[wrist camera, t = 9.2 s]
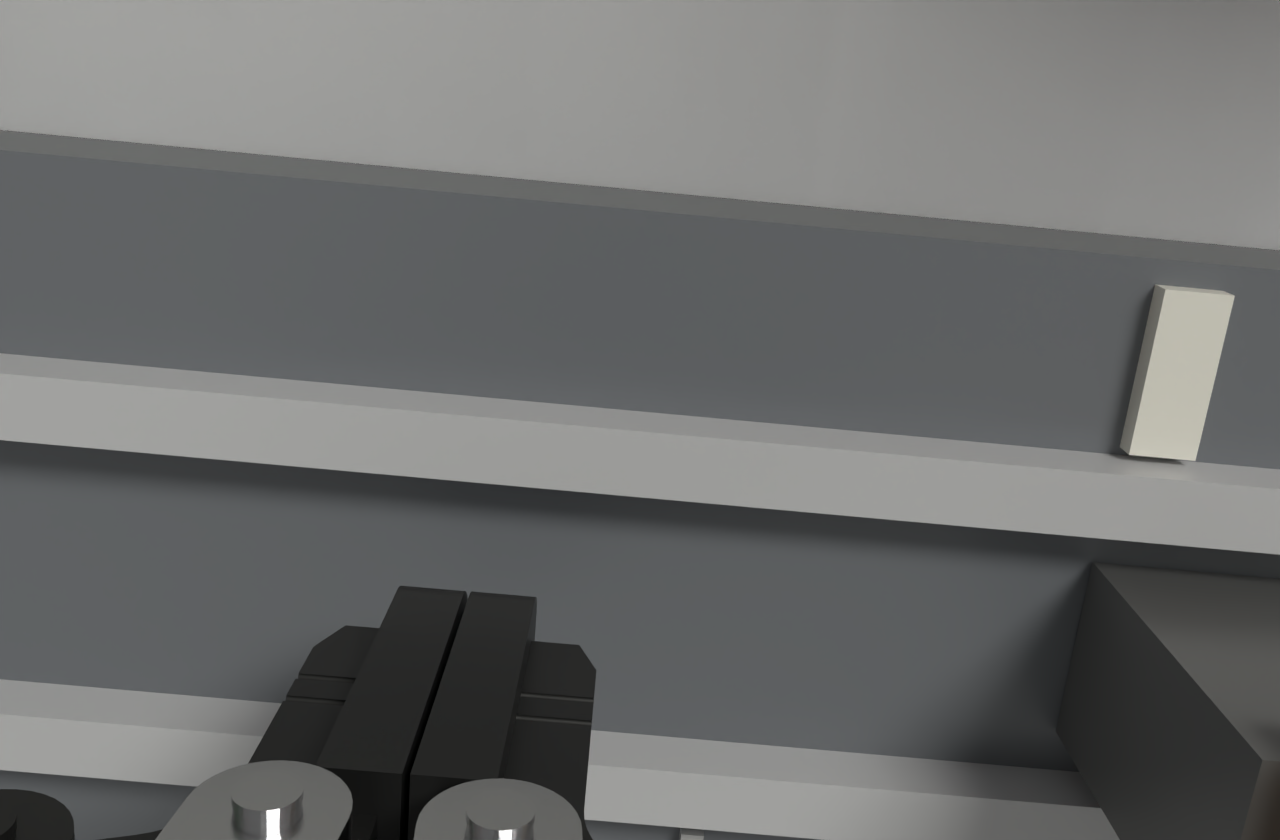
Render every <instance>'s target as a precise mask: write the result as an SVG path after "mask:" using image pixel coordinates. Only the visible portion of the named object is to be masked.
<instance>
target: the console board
mask: <svg viewBox="0 0 1280 840" xmlns="http://www.w3.org/2000/svg"><path fill="white" fill-rule="evenodd" d="M1092 562H1098V563H1109V564H1121V565H1132V566H1143V567H1154V568H1165V569H1177V570H1188V571H1199V572H1210V573H1222V574H1233V575H1244V576H1255V577H1266V578H1278V579H1280V251H1278V250H1267V249H1257V248H1246V247H1236V246H1225V245H1214V244H1204V243H1193V242H1182V241H1172V240H1161V239H1151V238H1140V237H1129V236H1119V235H1108V234H1097V233H1087V232H1076V231H1066V230H1055V229H1044V228H1034V227H1023V226H1012V225H1002V224H991V223H981V222H970V221H959V220H949V219H938V218H927V217H917V216H906V215H896V214H885V213H874V212H864V211H853V210H842V209H832V208H821V207H811V206H800V205H789V204H779V203H768V202H757V201H747V200H736V199H726V198H715V197H704V196H694V195H683V194H672V193H662V192H651V191H641V190H630V189H619V188H609V187H598V186H588V185H577V184H566V183H556V182H545V181H534V180H524V179H513V178H503V177H492V176H481V175H471V174H460V173H449V172H439V171H428V170H418V169H407V168H396V167H386V166H375V165H364V164H354V163H343V162H333V161H322V160H311V159H301V158H290V157H279V156H269V155H258V154H248V153H237V152H226V151H216V150H205V149H194V148H184V147H173V146H163V145H152V144H141V143H131V142H120V141H109V140H99V139H88V138H78V137H67V136H56V135H46V134H35V133H24V132H14V131H3V130H0V789H19V790H28V791H34V792H38V793H42V794H45V795H48V796H50V797H53V798H55V799H56V800H58V801H59V802H61V803H62V804H64V805H65V806H66V808H67V809H68V810H69V811H70V813H71V815H72V817H73V820H74V834H75V840H98V839H106V838H114V837H122V836H130V835H137V834H143V833H149V832H154V831H158V830H162V829H163V828H164V827H165V826H166V824H167V823H168V822H169V820H170V819H171V818H172V816H173V815H174V814H175V812H176V811H177V810H178V808H179V807H180V806H181V804H182V803H183V802H184V800H185V799H186V798H187V797H188V795H189V794H190V793H191V792H192V791H193V790H194V789H195V788H196V787H198V786H199V785H200V784H201V783H203V782H204V781H206V780H207V779H209V778H211V777H212V776H214V775H216V774H218V773H221V772H223V771H225V770H228V769H231V768H234V767H237V766H240V765H245V764H248V763H249V761H250V759H251V757H252V755H253V754H254V752H255V750H256V748H257V747H258V745H259V743H260V741H261V739H262V738H263V736H264V734H265V732H266V730H267V729H268V727H269V725H270V723H271V722H272V720H273V718H274V716H275V714H276V713H277V711H278V709H279V707H280V705H281V704H282V702H283V701H285V700H286V695H287V693H288V691H289V689H290V688H291V686H292V684H293V682H294V680H295V679H298V673H299V671H300V670H301V668H302V666H303V664H304V662H305V661H306V659H307V657H308V655H309V654H310V652H311V650H312V648H313V647H314V646H315V645H317V644H318V643H320V642H321V641H323V640H324V639H326V638H327V637H329V636H330V635H332V634H333V633H335V632H336V631H338V630H339V629H341V628H342V627H344V626H345V625H348V626H360V627H371V628H380V626H381V624H382V621H383V619H384V617H385V615H386V613H387V611H388V608H389V606H390V604H391V602H392V600H393V598H394V596H395V593H396V591H397V589H398V587H399V586H412V587H423V588H435V589H447V590H458V591H466V592H467V597H469V595H470V593H471V592H472V591H473V592H484V593H496V594H508V595H519V596H531V597H537V614H536V629H535V641H539V642H551V643H562V644H574V645H580V647H581V648H582V650H583V651H584V653H585V654H586V656H587V657H588V659H589V660H590V662H591V663H592V664H593V666H594V667H595V669H596V681H595V693H594V704H593V715H592V727H591V738H590V750H589V761H588V772H587V784H586V795H585V806H584V820H585V824H586V827H587V830H588V832H589V834H590V836H591V838H592V839H593V840H1120V839H1119V838H1118V836H1117V834H1116V833H1115V831H1114V829H1113V827H1112V826H1111V824H1110V822H1109V821H1108V819H1107V817H1106V816H1105V814H1104V812H1103V811H1102V809H1101V807H1100V806H1099V804H1098V802H1097V800H1096V799H1095V797H1094V795H1093V794H1092V792H1091V790H1090V789H1089V787H1088V785H1087V784H1086V782H1085V780H1084V778H1083V777H1082V775H1081V773H1080V772H1079V770H1078V768H1077V767H1076V765H1075V763H1074V762H1073V760H1072V758H1071V757H1070V755H1069V753H1068V751H1067V750H1066V748H1065V746H1064V745H1063V743H1062V741H1061V740H1060V738H1059V736H1058V735H1057V733H1056V727H1057V723H1058V718H1059V714H1060V709H1061V704H1062V700H1063V695H1064V691H1065V686H1066V681H1067V677H1068V672H1069V668H1070V663H1071V659H1072V654H1073V649H1074V645H1075V640H1076V636H1077V631H1078V626H1079V622H1080V617H1081V613H1082V608H1083V603H1084V599H1085V594H1086V590H1087V585H1088V581H1089V576H1090V571H1091V567H1092Z"/></svg>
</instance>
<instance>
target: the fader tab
mask: <svg viewBox="0 0 1280 840" xmlns="http://www.w3.org/2000/svg"><path fill="white" fill-rule="evenodd" d="M1056 733H1057V735H1058V736H1059V738H1060V740H1061V741H1062V743H1063V745H1064V746H1065V748H1066V750H1067V751H1068V753H1069V755H1070V757H1071V758H1072V760H1073V762H1074V763H1075V765H1076V767H1077V768H1078V770H1079V772H1080V773H1081V775H1082V777H1083V778H1084V780H1085V782H1086V784H1087V785H1088V787H1089V789H1090V790H1091V792H1092V794H1093V795H1094V797H1095V799H1096V800H1097V802H1098V804H1099V806H1100V807H1101V809H1102V811H1103V812H1104V814H1105V816H1106V817H1107V819H1108V821H1109V822H1110V824H1111V826H1112V827H1113V829H1114V831H1115V833H1116V834H1117V836H1118V838H1119V839H1120V840H1280V579H1278V578H1266V577H1255V576H1244V575H1233V574H1222V573H1210V572H1199V571H1188V570H1177V569H1165V568H1154V567H1143V566H1132V565H1121V564H1109V563H1098V562H1092V567H1091V571H1090V576H1089V581H1088V585H1087V590H1086V594H1085V599H1084V603H1083V608H1082V613H1081V617H1080V622H1079V626H1078V631H1077V636H1076V640H1075V645H1074V649H1073V654H1072V659H1071V663H1070V668H1069V672H1068V677H1067V681H1066V686H1065V691H1064V695H1063V700H1062V704H1061V709H1060V714H1059V718H1058V723H1057V727H1056Z"/></svg>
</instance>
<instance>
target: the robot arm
mask: <svg viewBox="0 0 1280 840" xmlns="http://www.w3.org/2000/svg"><path fill="white" fill-rule="evenodd" d="M536 614H537V597H531V596H519V595H508V594H496V593H484V592H473V591H472V592H471V593H470V595H469V597H467V592H466V591H458V590H447V589H435V588H423V587H412V586H399V587H398V589H397V591H396V593H395V596H394V598H393V600H392V602H391V604H390V606H389V608H388V611H387V613H386V615H385V617H384V619H383V621H382V624H381V626H380V628H371V627H360V626H348V625H345V626H344V627H342V628H341V629H339V630H338V631H336V632H335V633H333V634H332V635H330V636H329V637H327V638H326V639H324V640H323V641H321V642H320V643H318V644H317V645H315V646H314V647H313V648H312V650H311V652H310V654H309V655H308V657H307V659H306V661H305V662H304V664H303V666H302V668H301V670H300V671H299V673H298V679H295V680H294V682H293V684H292V686H291V688H290V689H289V691H288V693H287V695H286V700H285V701H283V702H282V704H281V705H280V707H279V709H278V711H277V713H276V714H275V716H274V718H273V720H272V722H271V723H270V725H269V727H268V729H267V730H266V732H265V734H264V736H263V738H262V739H261V741H260V743H259V745H258V747H257V748H256V750H255V752H254V754H253V755H252V757H251V759H250V761H249V763H248V764H245V765H240V766H237V767H234V768H231V769H228V770H225V771H223V772H221V773H218V774H216V775H214V776H212V777H211V778H209V779H207V780H206V781H204V782H203V783H201V784H200V785H199V786H198V787H196V788H195V789H194V790H193V791H192V792H191V793H190V794H189V795H188V797H187V798H186V799H185V800H184V802H183V803H182V804H181V806H180V807H179V808H178V810H177V811H176V812H175V814H174V815H173V816H172V818H171V819H170V820H169V822H168V823H167V824H166V826H165V827H164V828H163V829H162V830H158V831H154V832H149V833H143V834H137V835H130V836H122V837H114V838H106V839H98V840H593V839H592V838H591V836H590V834H589V832H588V830H587V827H586V824H585V820H584V806H585V795H586V784H587V772H588V761H589V750H590V738H591V727H592V715H593V704H594V693H595V681H596V669H595V667H594V666H593V664H592V663H591V662H590V660H589V659H588V657H587V656H586V654H585V653H584V651H583V650H582V648H581V647H580V645H574V644H562V643H551V642H539V641H535V629H536ZM0 840H75V834H74V820H73V817H72V815H71V813H70V811H69V810H68V809H67V808H66V806H65V805H64V804H62V803H61V802H59V801H58V800H56V799H55V798H53V797H50V796H48V795H45V794H42V793H38V792H34V791H28V790H19V789H0Z"/></svg>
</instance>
